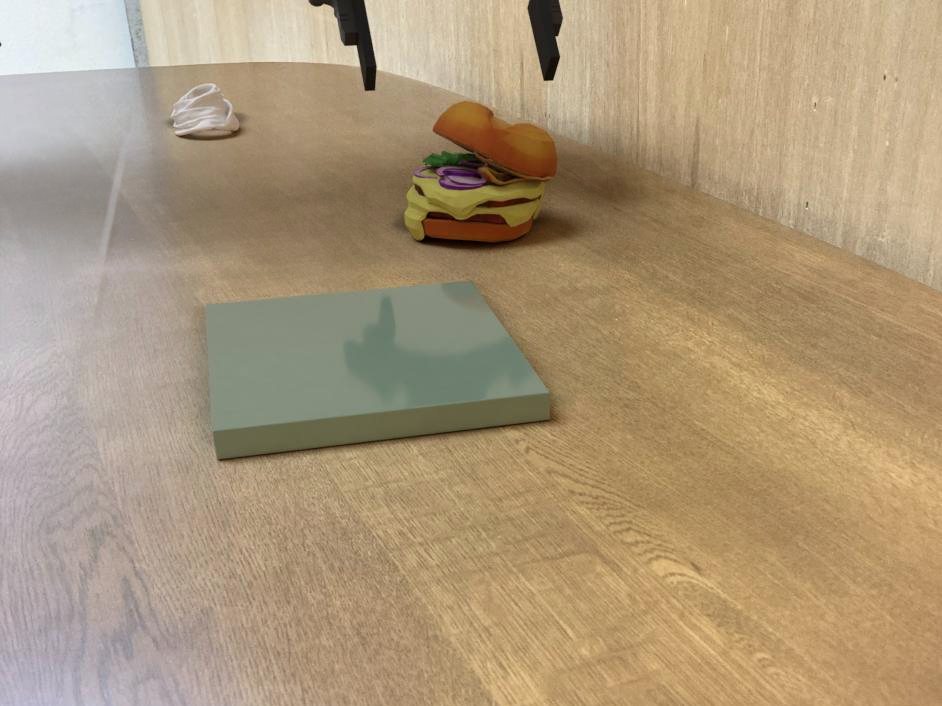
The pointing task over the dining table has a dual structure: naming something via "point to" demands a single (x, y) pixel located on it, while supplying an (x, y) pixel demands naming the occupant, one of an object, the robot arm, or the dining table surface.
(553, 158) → the cheeseburger
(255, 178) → the dining table surface
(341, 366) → the serving slab
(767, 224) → the dining table surface
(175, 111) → the whipped cream
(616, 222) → the dining table surface
